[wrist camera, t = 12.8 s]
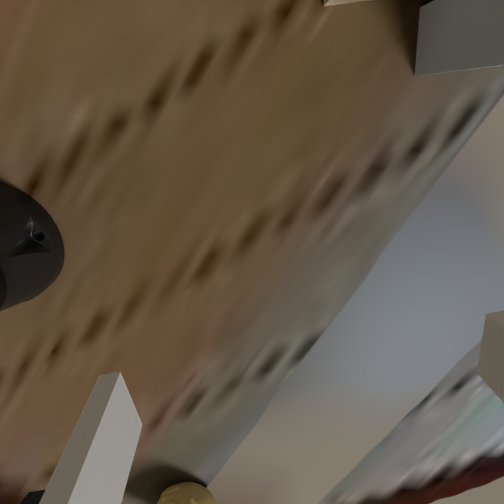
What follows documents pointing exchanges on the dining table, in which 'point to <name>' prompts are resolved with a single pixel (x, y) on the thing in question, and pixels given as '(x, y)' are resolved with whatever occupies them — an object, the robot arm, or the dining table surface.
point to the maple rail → (341, 2)
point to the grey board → (459, 36)
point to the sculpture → (186, 494)
